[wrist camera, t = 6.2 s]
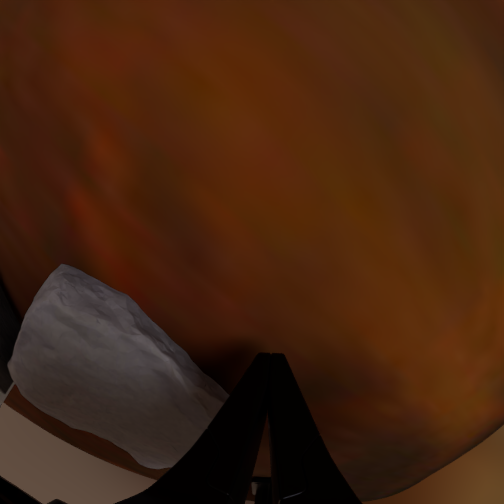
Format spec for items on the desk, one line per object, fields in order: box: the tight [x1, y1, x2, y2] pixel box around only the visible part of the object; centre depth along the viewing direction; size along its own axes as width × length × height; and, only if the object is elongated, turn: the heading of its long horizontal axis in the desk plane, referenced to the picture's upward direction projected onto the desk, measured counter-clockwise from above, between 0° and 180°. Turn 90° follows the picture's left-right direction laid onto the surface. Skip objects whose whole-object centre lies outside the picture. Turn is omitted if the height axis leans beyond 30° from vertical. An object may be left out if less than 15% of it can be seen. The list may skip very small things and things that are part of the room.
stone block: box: [7, 264, 230, 469], centre depth 12 cm, size 12×5×10 cm
